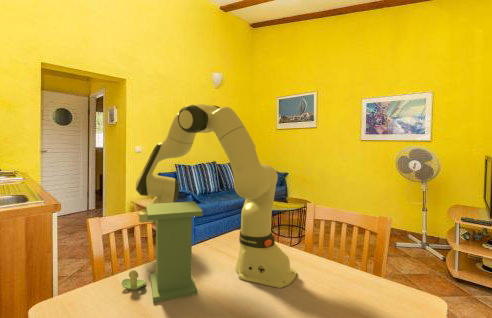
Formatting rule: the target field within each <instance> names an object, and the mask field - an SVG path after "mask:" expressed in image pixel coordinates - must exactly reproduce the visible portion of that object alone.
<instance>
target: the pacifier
mask: <svg viewBox="0 0 492 318" xmlns="http://www.w3.org/2000/svg"><path fill="white" fill-rule="evenodd" d="M128 277H129V278H126V279H123V280H121V286H122V287H123V288H125V289H128V290H132V291H135V290H136V291H137V290H139V289H140V288H143V287H145V286H146V285H147V281H146V280H144V279H139V272H138V271H136V270H134V269H132V270H130V271H129V273H128Z"/></svg>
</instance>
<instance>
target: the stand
mask: <svg viewBox="0 0 492 318" xmlns="http://www.w3.org/2000/svg"><path fill="white" fill-rule="evenodd" d="M145 207H146V208H145V209H146V211H147V219H148V220H156V223H155V272H151V273H150V282H151V283H150V284H151V293H152V303H158V302H164V301H169V300H174V299H179V298H180V299H181V298H184V297H186V298H187V297H190V296H195V295H198V287H197V285H196V283H195V280H194V277H193V275H192V253H193V252H192V249H193V248H192V245H193V243H192V241H193V235H192V232H193V218H194V217H203V215H204V214H203V213H204V211H203V209H202V208H201V207H200V206H199V205H198V204H197V202H196V201H194V200H193V201H175V203H158V204H152V203H147V204H146V205H145Z"/></svg>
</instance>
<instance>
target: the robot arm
mask: <svg viewBox="0 0 492 318" xmlns="http://www.w3.org/2000/svg"><path fill="white" fill-rule="evenodd" d="M212 132H213V133H214V134H215V136H216V137H217V139H218V141H219V144H220V145H221V147H222V149H223V150H224V153H225V155H226V157H227V159H228V161H229V164H230V168H231V170H232V174H233V189H234V191H235V193H236V194H237V195H238V196H239V197H241V198H243V199H244V203H243V206H242V207H241V208H242V209H241V213H240V214H241V217H240V231H239V238H238V239H239V240H238V241H239V252H238V256H237V257H238V258H237V261H236V263H235V264H236V265H235V268H234V269H235V271H236V272H237V274H238V279H240V280H242V281H248V282H252V283H256V284H261V285H265V286H269V287H274V288H277V289H280V288H281V289H282V288H284V287H287V286H288V285H290V284H291V283H292V282H294V280H295V279H296V278H297V270H296V269H295V268H293V267H291V263H290V257H289V256H288V255H287V254H286V252H284V251H283V250H282V248H280V247H279V245H277V244H276V243H275V242H276V240H277V239H278V238H277V237H278V235H275V236H274V235H273V233H272V230H271V229H272V213H273V212H272V211H273V206H274V201H275V194H276V188H277V182H278V177H279V176H278V172H277V169H275V168H274V167H273V166H272V165H269V164H267V163H261V162H260V160H259V156H258V153H257V149H256V144H255V142H254V140H253V138H252V136H251V135H250V133H249V132H248V129H247V128H246V126H245V124H244V123H243V121H242V119H241V118H240V116H238V114H237V113H236V112H235V111H234V109H233V108H231V107H229V106H222V107H221V106H217V105H213V104H212V105H210V104H188V105H185V106H183V107H181V109H180V110H179V112H178V113H176V114H175V116H174V118H173V119H172V121H171V124H170V127H169V130H168V132H167V135H166V137H165V139H164V140H162V141H161V142H158V143H157V144H156V145H155V146H154V148H153V150H152V152H151V154H150V155H149V157H148V159H147V162H146V163H145V166H144V167H143V169H142V171H141V173H140V175H139V176H138V178H137V180H136V182H135V190H136V192H137V193H138V195H140V196H144V197H153V199H152V202H151V204H158V203H175V202H177V200H178V196H179V192H180V184H179V182H178V180H177V178H174V177H170V176H164V175H158V174H157V175H156V174H153V173H154V172H155V170H156V167H157V166H158V164H159V163H160V162H162V161H165V160H168V159H177V158H182V157H184V156H186V155H187V154H189V152H190V151H191V150H192V147H193V144H194V141H195V138H196V135H197V134H199V133H200V134H201V133H202V134H208V133H212ZM137 216H138V222H139V223H151V224H156V220H148V219H147V211H146V208H144V209H141V210H140V211H139V212H137Z"/></svg>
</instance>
